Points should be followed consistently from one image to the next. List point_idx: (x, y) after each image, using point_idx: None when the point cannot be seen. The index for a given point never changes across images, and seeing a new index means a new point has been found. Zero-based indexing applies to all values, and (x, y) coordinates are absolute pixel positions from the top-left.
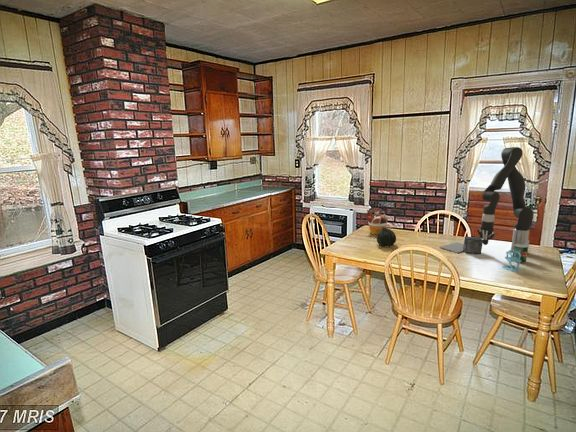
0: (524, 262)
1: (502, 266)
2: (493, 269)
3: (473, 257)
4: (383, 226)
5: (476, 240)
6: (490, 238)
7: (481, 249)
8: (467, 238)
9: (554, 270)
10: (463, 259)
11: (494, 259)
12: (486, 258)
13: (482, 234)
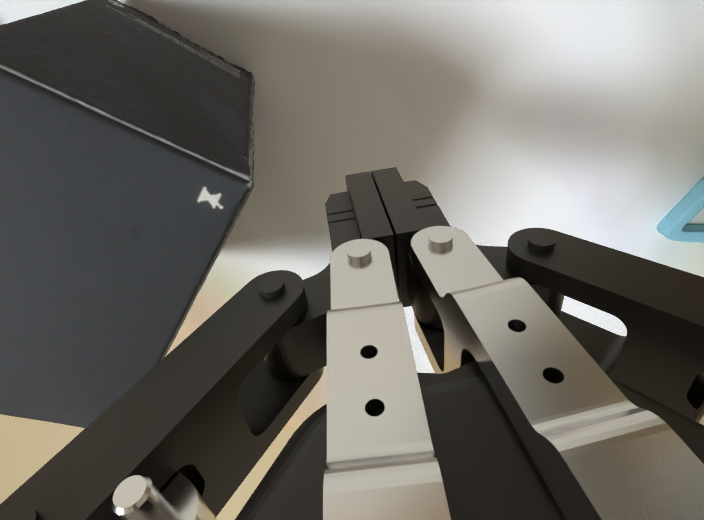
0: None
1: (666, 236)
2: (612, 325)
3: (323, 264)
4: None
5: (192, 302)
6: (588, 341)
7: (251, 99)
8: (77, 424)
9: None
10: (323, 368)
11: (506, 101)
12: (423, 163)
13: (248, 365)
